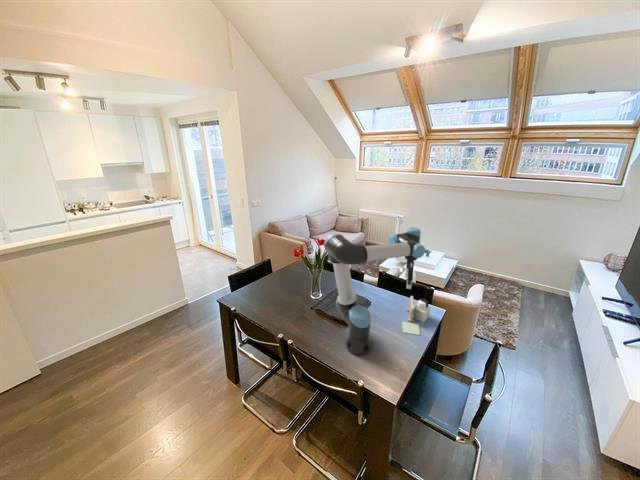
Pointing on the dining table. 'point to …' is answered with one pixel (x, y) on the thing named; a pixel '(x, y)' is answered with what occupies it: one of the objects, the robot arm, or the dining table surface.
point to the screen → (411, 310)
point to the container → (422, 310)
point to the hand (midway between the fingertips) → (408, 282)
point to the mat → (411, 328)
